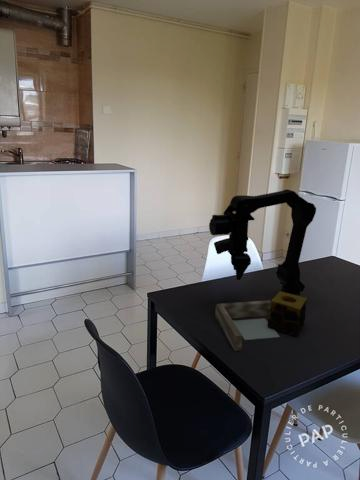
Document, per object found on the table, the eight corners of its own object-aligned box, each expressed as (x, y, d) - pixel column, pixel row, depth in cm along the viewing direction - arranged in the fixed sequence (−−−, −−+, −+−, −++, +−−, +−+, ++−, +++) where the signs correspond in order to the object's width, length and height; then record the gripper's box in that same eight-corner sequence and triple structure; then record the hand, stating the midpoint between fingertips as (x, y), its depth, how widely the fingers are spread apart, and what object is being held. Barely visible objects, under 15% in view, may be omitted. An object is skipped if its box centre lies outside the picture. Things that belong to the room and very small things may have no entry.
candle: (296, 337, 119) (301, 309, 116) (266, 327, 124) (269, 300, 121) (304, 324, 128) (308, 298, 125) (276, 316, 133) (279, 290, 130)
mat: (264, 318, 131) (264, 318, 131) (279, 337, 119) (280, 336, 119) (232, 321, 128) (232, 320, 128) (244, 340, 117) (244, 339, 117)
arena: (268, 312, 135) (269, 300, 134) (296, 345, 115) (298, 330, 114) (215, 316, 131) (215, 303, 130) (234, 350, 112) (236, 336, 110)
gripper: (214, 225, 137) (212, 264, 142) (217, 240, 120) (216, 285, 124) (244, 225, 137) (241, 265, 142) (252, 241, 119) (249, 285, 124)
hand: (236, 274), depth 133 cm, fingers open, 9 cm apart
